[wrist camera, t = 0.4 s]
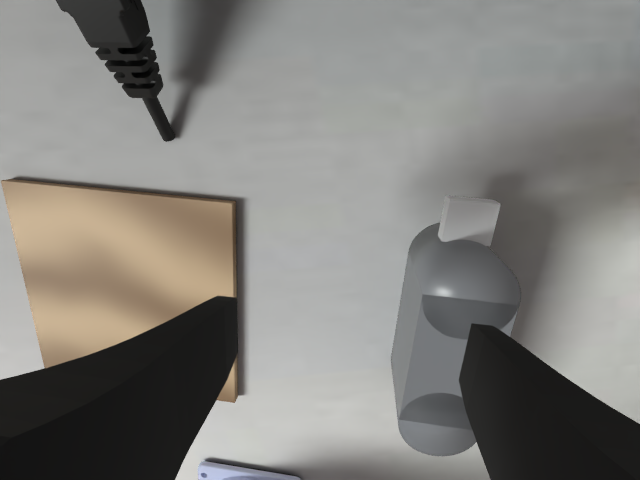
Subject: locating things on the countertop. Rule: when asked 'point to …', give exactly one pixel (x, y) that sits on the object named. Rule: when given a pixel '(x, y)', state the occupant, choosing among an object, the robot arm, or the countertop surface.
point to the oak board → (117, 262)
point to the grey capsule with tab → (447, 321)
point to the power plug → (123, 49)
